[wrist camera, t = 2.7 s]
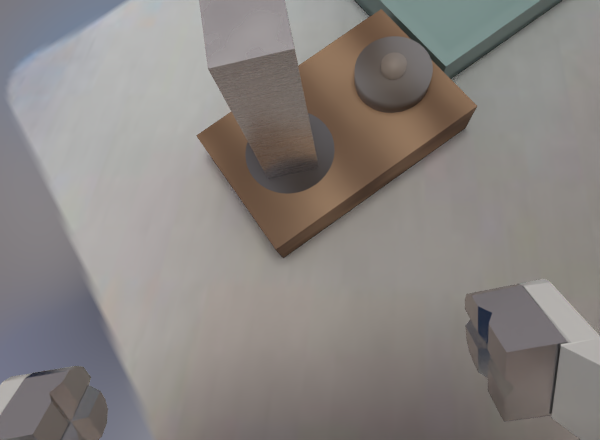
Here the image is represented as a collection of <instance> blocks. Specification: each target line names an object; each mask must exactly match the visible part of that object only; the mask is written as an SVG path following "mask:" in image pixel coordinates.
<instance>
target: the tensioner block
mask: <svg viewBox="0 0 600 440" xmlns="http://www.w3.org/2000/svg"><path fill="white" fill-rule="evenodd" d="M298 67H299V72H300V77H301V82H302V87H303V92H304V97H305V102H306V106H307V111H308V116H309V121H310V126H311V131H312V136H313V141H314V146H315V151H316V156H317V161H318V166H319V169H315V170H311V171H306V172H301V173H296V174H292V175H287V176H282V177H277V178H273V179H268V178H267V176H266V174H265V172H264V170H263V168H262V167H261V165H260V163H259V161H258V159H257V157H256V156H255V154H254V152H253V150H252V148H251V146H250V145H249V143H248V141H247V139H246V137H245V135H244V134H243V132H242V130H241V128H240V126H239V124H238V123H237V121H236V119H235V117H234V115H233V113H232V112H230V113H229V114H227V115H226V116H224V117H223V118H221V119H220V120H219V121H217V122H216V123H214V124H213V125H211V126H210V127H208V128H207V129H205V130H204V131H202V132H201V133H200V134H198V135H197V137H198V139H199V140H200V142H201V143H202V144H203V146H204V147H205V149H206V150H207V152H208V153H209V154H210V156H211V157H212V159H213V160H214V162H215V163H216V164H217V166H218V167H219V169H220V170H221V172H222V173H223V175H224V176H225V177H226V179H227V180H228V182H229V183H230V185H231V186H232V187H233V189H234V190H235V192H236V193H237V195H238V196H239V198H240V199H241V200H242V202H243V203H244V205H245V206H246V208H247V209H248V210H249V212H250V213H251V215H252V216H253V218H254V219H255V220H256V222H257V223H258V225H259V226H260V228H261V229H262V231H263V232H264V233H265V235H266V236H267V238H268V239H269V241H270V242H271V243H272V245H273V246H274V248H275V249H276V250H277V252H278V253H279V254H280V255H281V256H282V257H283V258H284V257H285V256H287V255H288V254H290V253H291V252H292V251H294V250H295V249H297V248H298V247H299V246H301V245H302V244H304V243H305V242H306V241H308V240H309V239H311V238H312V237H313V236H315V235H316V234H318V233H319V232H320V231H322V230H323V229H325V228H326V227H327V226H329V225H330V224H332V223H333V222H334V221H336V220H337V219H339V218H340V217H341V216H343V215H344V214H346V213H347V212H348V211H350V210H351V209H353V208H354V207H355V206H357V205H358V204H360V203H361V202H362V201H364V200H365V199H367V198H368V197H369V196H371V195H372V194H374V193H375V192H376V191H378V190H379V189H381V188H382V187H383V186H385V185H386V184H388V183H389V182H390V181H392V180H393V179H395V178H396V177H397V176H399V175H400V174H402V173H403V172H404V171H406V170H407V169H409V168H410V167H411V166H413V165H414V164H416V163H417V162H418V161H420V160H421V159H423V158H424V157H425V156H427V155H428V154H430V153H431V152H432V151H434V150H435V149H437V148H438V147H439V146H441V145H442V144H444V143H445V142H446V141H448V140H449V139H451V138H452V137H453V136H455V135H456V134H458V133H459V132H460V131H462V130H463V129H465V128H466V126H467V124H468V122H469V120H470V118H471V117H472V115H473V113H474V111H475V109H476V107H477V105H476V104H475V103H474V102H473V101H472V100H471V99H470V98H469V97H468V96H467V95H466V94H465V93H464V92H463V91H462V90H461V89H460V88H459V87H458V86H457V85H456V84H455V83H454V82H453V81H452V80H451V79H450V78H449V77H448V76H447V75H446V74H445V73H444V72H443V71H442V70H441V69H440V68H439V67H438V66H437V65H436V64H435V63H434V62H433V61H432V60H431V58H430V55H429V54H428V52H427V51H426V50H425V48H424V47H422V46H421V45H420V44H419V43H417V42H415V41H414V40H411V39H410V38H409V37H408V36H407V35H406V34H405V33H404V32H403V31H402V30H401V28H400V27H399V26H398V25H397V24H396V23H395V22H394V21H393V20H392V19H391V18H390V17H389V16H388V15H387V14H386V13H385V12H384V11H383V10H382V9H380V10H379V11H378V12H376V13H375V14H373V15H372V16H370V17H369V18H367V19H366V20H364V21H363V22H361V23H360V24H359V25H357V26H356V27H354V28H353V29H351V30H350V31H348V32H347V33H345V34H344V35H343V36H341V37H340V38H338V39H337V40H335V41H334V42H332V43H331V44H329V45H328V46H326V47H325V48H324V49H322V50H321V51H319V52H318V53H316V54H315V55H313V56H312V57H310V58H309V59H308V60H306V61H305V62H303V63H302V64H300V65H299V66H298Z"/></svg>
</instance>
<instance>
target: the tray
mask: <svg viewBox="0 0 600 440" xmlns="http://www.w3.org/2000/svg"><path fill="white" fill-rule="evenodd" d="M355 1H356V2H357V3H358V4H359V5H360V6H361V7H362V8H363V9H364V10H365V11H366V12H367V13H368V14H369V16H372V15H373V14H375V13H376V12H378V11H379V10H380V9H382V10H383V11H384V12H385V13H386V14H387V15H388V16H389V17H390V18H391V19H392V20H393V21H394V22H395V23H396V24H397V25H398V26H399V27H400V28H401V30H402V31H403V32H404V33H405V34H406V35H407V36H408V37H409V38H410V39H411V40H414V41H415V42H417V43H419V44H420V45H421V46H422V47H424V48H425V50H426V51H427V52H428V54H429V55H430V58H431V60H432V61H433V62H434V63H435V64H436V65H437V66H438V67H439V68H440V69H441V70H442V71H443V72H444V73H445V74H446V75H447V76H448V77H449V78H450V79H451V78H453V77H454V76H456V75H457V74H458V73H460V72H461V71H463V70H464V69H466V68H467V67H468V66H470V65H471V64H473V63H474V62H475V61H477V60H478V59H480V58H481V57H483V56H484V55H485V54H487V53H488V52H490V51H491V50H492V49H494V48H495V47H497V46H498V45H500V44H501V43H502V42H504V41H505V40H507V39H508V38H509V37H511V36H512V35H514V34H515V33H517V32H518V31H519V30H521V29H522V28H524V27H525V26H526V25H528V24H529V23H531V22H532V21H534V20H535V19H536V18H538V17H539V16H541V15H542V14H544V13H545V12H546V11H548V10H549V9H551V8H552V7H553V6H555V5H556V4H558V3H559V2H561V1H562V0H355Z"/></svg>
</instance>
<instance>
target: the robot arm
mask: <svg viewBox="0 0 600 440" xmlns="http://www.w3.org/2000/svg"><path fill="white" fill-rule="evenodd" d="M465 310H466V312H467V314H468V315H469V317H470V320H469V322H468V323H467V324H466V326H465V327H466V339H467V344H468V348H469V352H470V355H471V357H472V360H473V362H474V364H475V366H476V368H477V370H478V372H479V373H481V374H482V375H484V376H485V377H487V378H488V392H489V394H490V396H491V398H492V400H493V402H494V404H495V406H496V408H497V410H498V412H499V413H500V415H501V417H502V419H503V421H504V422H505V421H513V420H520V419H528V418H535V417H543V416H550V415H552V417H551V418H552V419H554V420H555V421H556V422H558V423H559V424H560V425H562V426H563V427H564V428H566V429H567V430H568V431H570V432H571V433H572V434H574V435H575V436H576V437H578V438H579V439H580V440H600V335H599V334H598V333H597V332H596V331H595V330H594V329H593V328H592V327H591V325H590V324H589V323H588V322H587V321H586V320H585V319H584V318H583V317H582V316H581V315H580V314H579V313H578V311H577V310H576V309H575V308H574V307H573V306H572V305H571V304H570V303H569V302H568V301H567V300H566V298H565V297H564V296H563V295H562V294H561V293H560V292H559V291H558V290H557V289H556V288H555V287H554V286H553V284H552V283H551V282H550V281H548V280H546V279H539V280H534V281H529V282H524V283H519V284H517V285H510V286H505V287H500V288H495V289H490V290H484V291H479V292H474V293H469V294H466V298H465ZM90 378H91V377H90V375H89V374H88V373H87V371H86V370H85V368H84V367H79V366H73V367H67V368H60V369H54V370H48V371H41V372H35V373H32V374H26V375H19V376H12V377H10V378H9V379H7V380H5V381H3V382H2V384H1V385H0V440H99V439H100V438H101V437H102V434H103V432H104V429H105V427H106V424H107V412H108V408H107V404H106V400H105V398H104V397H103V395H102V393H101V392H100V391H99V390H97V389H95V388H93V387H91V386H89V382H90Z"/></svg>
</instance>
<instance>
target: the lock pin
mask: <svg viewBox="0 0 600 440" xmlns="http://www.w3.org/2000/svg"><path fill="white" fill-rule="evenodd" d="M199 3H200V10H201V18H202V26H203V33H204V41H205V49H206V57H207V64H208V69H209V71H210V73H211V75H212V77H213V79H214V80H215V82H216V84H217V86H218V88H219V90H220V91H221V93H222V95H223V97H224V99H225V101H226V102H227V104H228V106H229V108H230V110H231V112H232V113H233V115H234V117H235V119H236V121H237V123H238V124H239V126H240V128H241V130H242V132H243V134H244V135H245V137H246V139H247V141H248V143H249V145H250V146H251V148H252V150H253V152H254V154H255V156H256V157H257V159H258V161H259V163H260V165H261V167H262V168H263V170H264V172H265V174H266V176H267V178H268V179H273V178H277V177H282V176H287V175H292V174H296V173H301V172H306V171H311V170H315V169H319V166H318V161H317V156H316V151H315V146H314V141H313V136H312V131H311V126H310V121H309V116H308V111H307V106H306V102H305V97H304V92H303V87H302V82H301V77H300V72H299V67H298V63H297V58H296V53H295V48H294V43H293V38H292V33H291V29H290V24H289V19H288V14H287V9H286V4H285V0H199Z"/></svg>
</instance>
